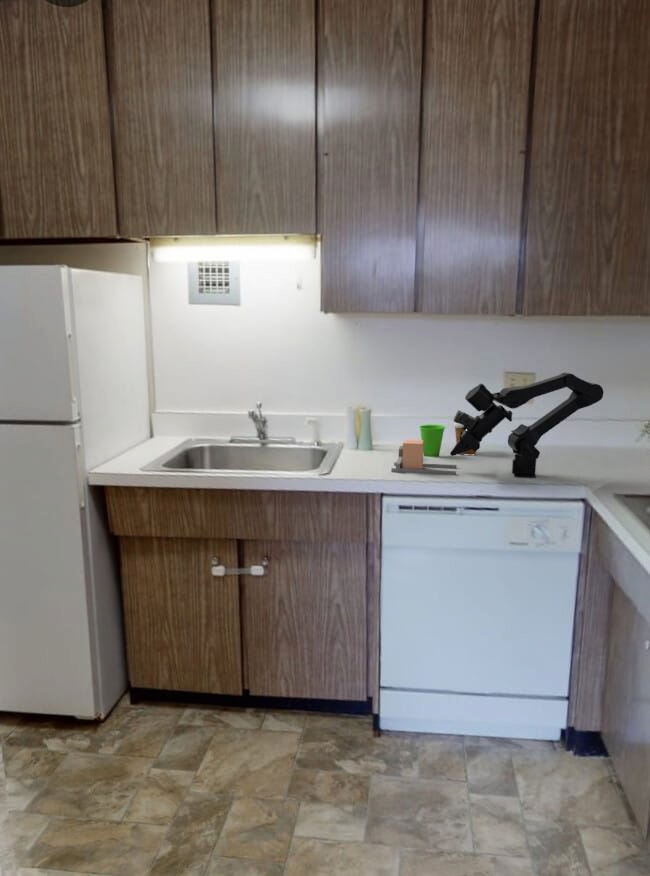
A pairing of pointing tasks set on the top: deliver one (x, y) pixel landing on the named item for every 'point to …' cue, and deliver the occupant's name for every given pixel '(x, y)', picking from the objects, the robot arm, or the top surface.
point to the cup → (431, 439)
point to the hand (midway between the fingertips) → (451, 454)
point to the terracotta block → (413, 454)
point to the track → (400, 464)
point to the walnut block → (401, 451)
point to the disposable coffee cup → (459, 429)
